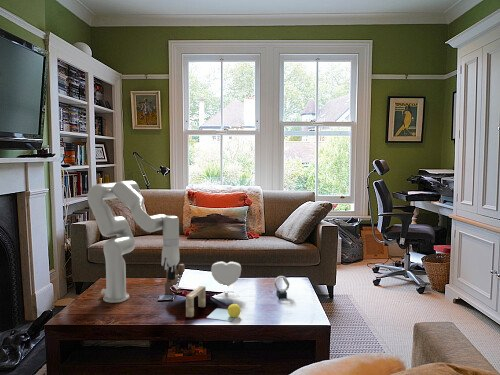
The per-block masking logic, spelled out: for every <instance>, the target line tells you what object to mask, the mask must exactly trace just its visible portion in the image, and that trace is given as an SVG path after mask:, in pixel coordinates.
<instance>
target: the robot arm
mask: <svg viewBox="0 0 500 375" xmlns="http://www.w3.org/2000/svg"><path fill="white" fill-rule="evenodd" d="M139 192H140V186H139V185H138V183H137V182H136V181H134V180H121V181H117V182H105V183H104V182H103V183H97V184H95V185H93V186H91V187H90V188H89V189H88V191H87V197H86V199H87V202H88V205H89V207H90V209H91V211H92V213H93V216H94V218H95V221H96V225H97V227H98V230H99V233H100V234H101V235H102V236H103V237H105V238H106V237H107V238H108V237H112V238H109V239H108V240H106V241H105V243H104V244H103V254H104V258H105V260H104V261H105V274H106V275H105V281H106V282H105V284H106V285H105V286H106V288H101V291H100V294H101V295H104V296H103V302H106V303H108V304H110V303H112V304H113V303H114V304H116V303H122V302H126V301H127V300H129V299H130V294H129V293H127V277H126V276H127V275H126V272H127V271H126V269H127V268H126V267H127V266H126V260H125V259H124V257H123V255H126V254H129V253H131V252H132V251H133V250H134V249H135V247H136V241H135V238H134V234H133V232H132V229H131V227H130V224H129V221H128V220H127V219H126V218H125V217H124V216H121V215H115V216H114V215H113V212H112V208H110V206H109V204H107V203H106V202H105V200H115V199H118V200H119V201H120V202H121V203H122V204H123V205H125V206H126V207H127V209H129V210H130V212H131V217H132V219H133V221H134V222H135V223H136V224H137V225H138V227H140V228H141V229H142V230H143V231H145V232H146V233H154V232H157V231H161V230H162V249H161V266H162V267H164V270H165V271H166V270H167V272H168V280H174V279H175V270H176V268H177V266H178V265H179V263H180V257H181V256H180V255H181V254H180V220H179V216H176V215H166V214H164V213H163V214H162V213H160V214H154V215H149V214H148V213H147V212H146V211H145V210H144V209H143V205H144V204H145V198H144V197H143V196H142V195H141V194H140V193H139ZM113 236H114V237H113ZM115 236H116V237H115Z"/></svg>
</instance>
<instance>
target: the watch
mask: <svg viewBox="0 0 500 375" xmlns="http://www.w3.org/2000/svg"><path fill="white" fill-rule="evenodd" d="M279 279H282V280H283V281H284V283H285V284H286V287H285V288H283V289H279V288H278V286H277V281H278V280H279ZM273 283H274V284H273V285H274V287H275V289H276V292H275V293H276V294H275V295H276V298H277V299H278V300H284V299H285V300H287V299H288V292H287V291H288V290H289V288H290V282H289V280H288V279H287V277H286V276H284V275H279V276H277V277H276V278H274V281H273Z"/></svg>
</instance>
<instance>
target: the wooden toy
mask: <svg viewBox="0 0 500 375" xmlns="http://www.w3.org/2000/svg"><path fill="white" fill-rule="evenodd" d="M177 268H178V269H177ZM165 271H166V274H165V276H166V281H165V282H164V294H165V295H167V294H173V293H172V292H171V291H170V287H171V285H176V284H177V281H178V282H179V275H182V274H183V272H184V271H185V264H184V263H180V264H179V263H178V267H176V270H175V279H174V280H168V272H167V270H165Z"/></svg>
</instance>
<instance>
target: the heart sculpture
mask: <svg viewBox="0 0 500 375" xmlns="http://www.w3.org/2000/svg"><path fill="white" fill-rule="evenodd" d="M241 265H242V264H240V263H239V262H236V261H229V262H225V261H216V262H214V263H213V264H212V265H211V268H210V269H211V270H210V272H211V276H212V278H213V279H214V280H215V281H216V282H217V283H218V284H220V285H221V284H223V285H227V286H228V287H230V286H231V285H233V284H234V283H236V282H237V281H238V280H239V279H240V277H241V274H242V273H241V272H242V266H241ZM223 285H222V286H223ZM220 294H221V293H220ZM216 297H222V298H223V299H225V298H227V299H237V298H239V297H240V295H239V294H234V293H229V292H228V293H225V292H224V293H222V294H221V295H218V296H216ZM222 298H221V299H222Z"/></svg>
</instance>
